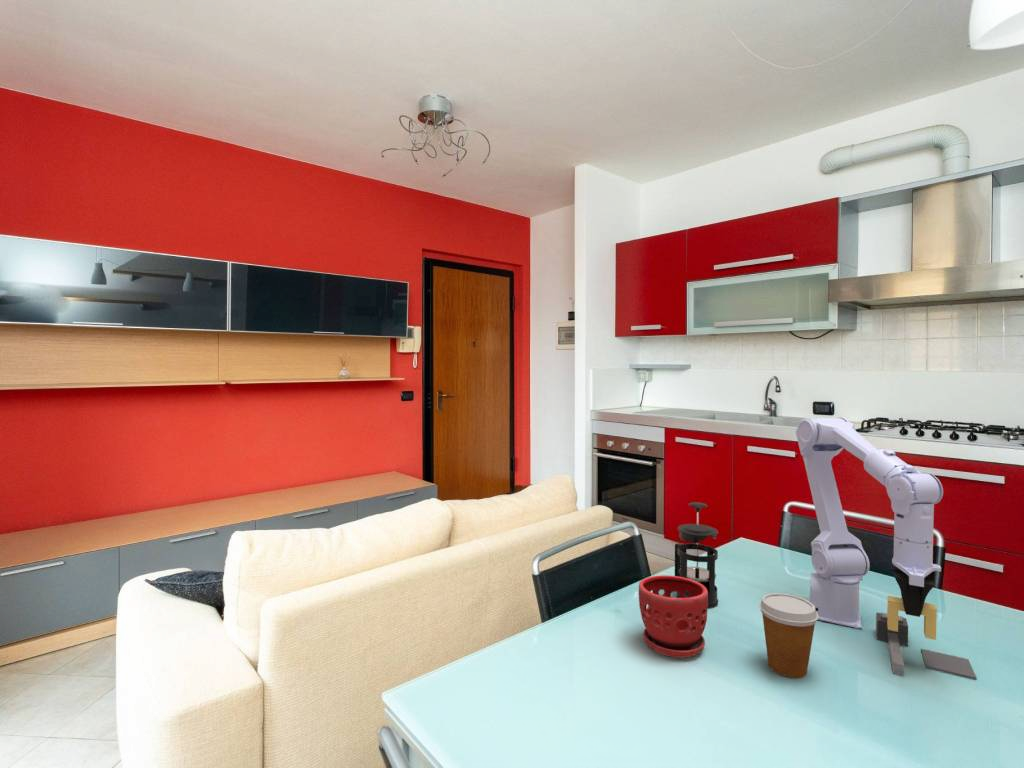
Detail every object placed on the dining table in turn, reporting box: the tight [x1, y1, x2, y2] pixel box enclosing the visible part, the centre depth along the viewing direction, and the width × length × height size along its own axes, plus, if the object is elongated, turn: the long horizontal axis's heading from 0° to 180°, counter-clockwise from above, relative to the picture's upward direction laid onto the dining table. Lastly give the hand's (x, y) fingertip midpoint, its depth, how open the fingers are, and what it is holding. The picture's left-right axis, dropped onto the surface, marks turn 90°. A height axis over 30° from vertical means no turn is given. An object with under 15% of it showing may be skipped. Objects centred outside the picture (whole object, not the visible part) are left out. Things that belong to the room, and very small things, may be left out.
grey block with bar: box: [875, 612, 909, 677], centre depth 101 cm, size 5×17×5 cm, turn 148°
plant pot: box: [638, 574, 709, 658], centre depth 104 cm, size 13×13×12 cm
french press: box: [674, 501, 719, 610], centre depth 124 cm, size 12×9×23 cm
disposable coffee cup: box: [758, 592, 818, 679], centre depth 96 cm, size 10×10×12 cm
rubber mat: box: [920, 648, 978, 681], centre depth 97 cm, size 7×7×1 cm
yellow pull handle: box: [886, 595, 938, 641], centre depth 97 cm, size 7×2×6 cm, turn 57°
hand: (911, 611), depth 97 cm, fingers closed on yellow pull handle, 2 cm apart
